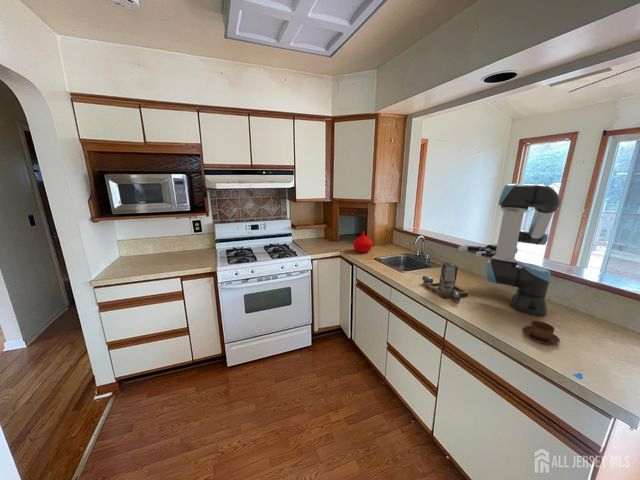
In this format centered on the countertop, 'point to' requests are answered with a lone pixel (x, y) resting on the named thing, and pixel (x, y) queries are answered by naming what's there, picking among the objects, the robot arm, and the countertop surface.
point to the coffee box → (448, 277)
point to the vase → (362, 243)
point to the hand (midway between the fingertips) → (467, 251)
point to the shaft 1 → (427, 280)
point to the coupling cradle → (435, 288)
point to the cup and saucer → (541, 333)
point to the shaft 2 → (455, 297)
